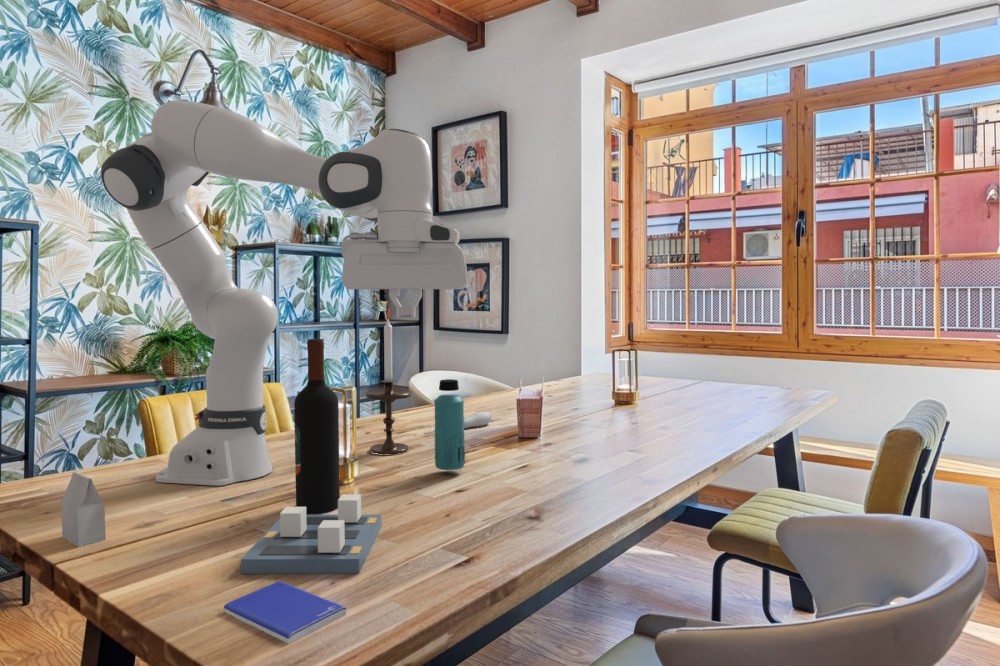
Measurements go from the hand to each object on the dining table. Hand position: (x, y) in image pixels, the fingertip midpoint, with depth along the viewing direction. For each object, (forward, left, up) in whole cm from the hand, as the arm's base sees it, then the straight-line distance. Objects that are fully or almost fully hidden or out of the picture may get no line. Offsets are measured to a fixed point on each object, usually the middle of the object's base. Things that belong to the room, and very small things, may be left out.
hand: (406, 317), depth 107 cm
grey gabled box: (-49, -7, -34) cm, 61 cm away
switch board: (-12, -11, -34) cm, 38 cm away
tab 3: (-8, -5, -32) cm, 33 cm away
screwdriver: (+4, +75, -35) cm, 82 cm away
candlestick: (-11, +50, -34) cm, 62 cm away
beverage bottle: (+5, +30, -34) cm, 46 cm away
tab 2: (-8, -17, -32) cm, 37 cm away
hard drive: (-11, -31, -35) cm, 48 cm away
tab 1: (-16, -11, -32) cm, 37 cm away
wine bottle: (-17, +8, -34) cm, 39 cm away
